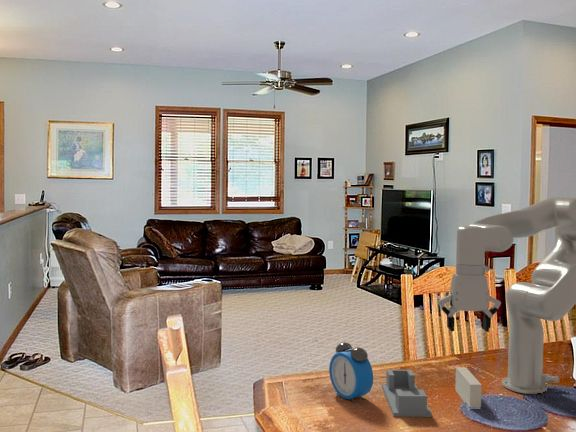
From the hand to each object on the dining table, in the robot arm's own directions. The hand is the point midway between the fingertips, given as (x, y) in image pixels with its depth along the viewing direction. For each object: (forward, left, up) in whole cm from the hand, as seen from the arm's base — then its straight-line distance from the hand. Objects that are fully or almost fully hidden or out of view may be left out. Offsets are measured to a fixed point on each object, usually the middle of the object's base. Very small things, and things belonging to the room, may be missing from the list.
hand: (468, 330), depth 155 cm
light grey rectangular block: (0, 0, -20) cm, 20 cm away
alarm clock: (+33, -1, -20) cm, 39 cm away
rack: (+18, +2, -20) cm, 27 cm away
